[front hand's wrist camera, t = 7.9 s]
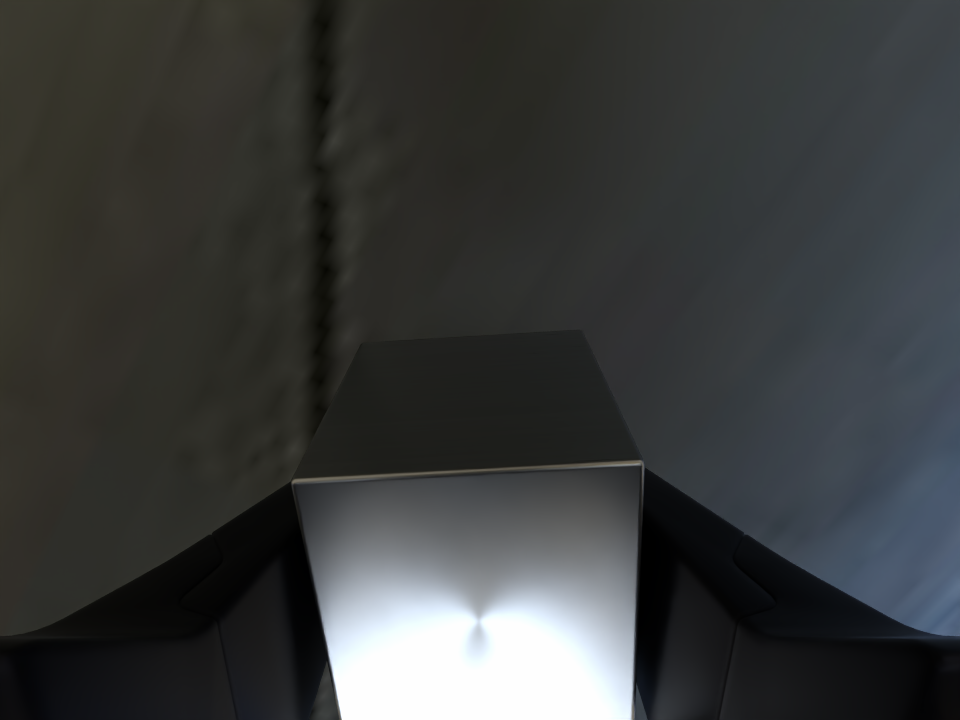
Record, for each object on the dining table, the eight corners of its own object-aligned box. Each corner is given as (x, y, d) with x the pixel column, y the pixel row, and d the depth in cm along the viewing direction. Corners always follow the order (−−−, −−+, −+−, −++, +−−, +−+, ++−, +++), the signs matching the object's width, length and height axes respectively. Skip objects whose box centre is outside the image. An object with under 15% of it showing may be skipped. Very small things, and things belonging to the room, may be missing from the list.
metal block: (583, 529, 13) (636, 736, 9) (388, 539, 13) (343, 750, 9) (582, 327, 12) (646, 460, 7) (360, 341, 12) (287, 480, 7)
